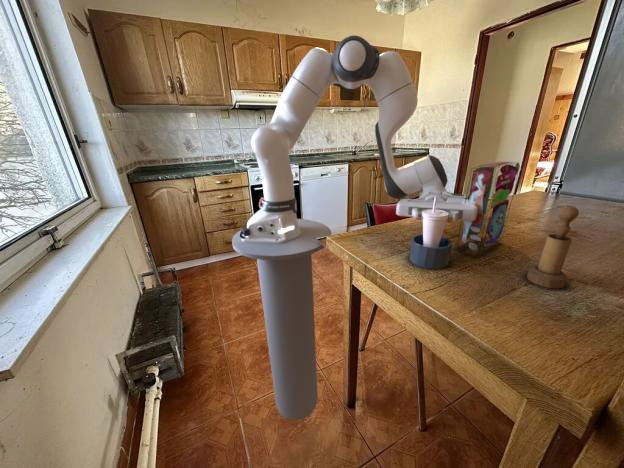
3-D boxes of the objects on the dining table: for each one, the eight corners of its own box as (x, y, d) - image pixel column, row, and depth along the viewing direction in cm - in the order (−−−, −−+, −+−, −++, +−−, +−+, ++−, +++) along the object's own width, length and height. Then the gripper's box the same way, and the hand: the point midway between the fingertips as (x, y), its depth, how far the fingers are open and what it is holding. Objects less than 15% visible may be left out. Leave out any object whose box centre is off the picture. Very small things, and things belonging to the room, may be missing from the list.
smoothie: (412, 244, 72) (418, 195, 66) (431, 240, 73) (438, 192, 68) (429, 253, 66) (437, 200, 61) (449, 249, 68) (458, 197, 63)
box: (492, 231, 89) (509, 158, 80) (513, 236, 84) (533, 159, 75) (455, 251, 76) (470, 166, 67) (477, 258, 71) (497, 168, 62)
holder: (417, 269, 67) (419, 248, 64) (404, 253, 76) (406, 234, 74) (455, 268, 67) (459, 247, 64) (438, 252, 76) (441, 233, 73)
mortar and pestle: (540, 272, 63) (564, 201, 57) (571, 286, 57) (602, 208, 51) (519, 276, 62) (541, 204, 55) (549, 291, 56) (577, 212, 49)
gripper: (398, 192, 80) (393, 203, 68) (474, 195, 73) (483, 208, 61) (397, 211, 83) (392, 225, 71) (469, 216, 75) (477, 233, 63)
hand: (434, 217), depth 66 cm, fingers closed on smoothie, 6 cm apart
